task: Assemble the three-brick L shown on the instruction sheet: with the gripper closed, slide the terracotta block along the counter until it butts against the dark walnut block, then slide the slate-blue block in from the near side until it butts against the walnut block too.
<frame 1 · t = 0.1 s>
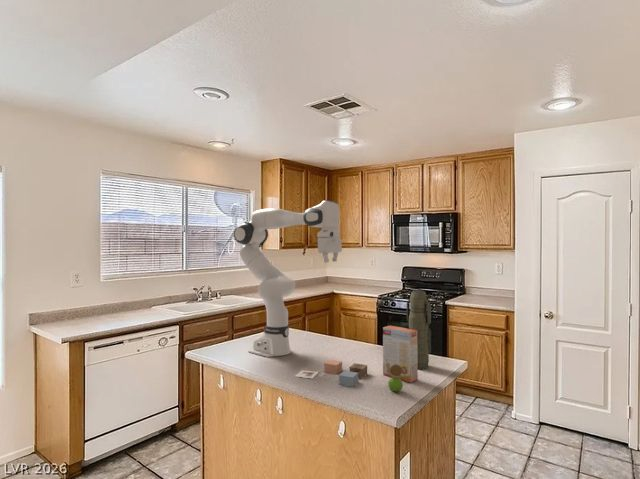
hand: (330, 261, 189), 48 cm above the countertop, tool pointing down, fingers open, 8 cm apart
slate block: (348, 383, 158), on the countertop
instruction sheet: (306, 374, 168), on the countertop
terracotta block: (333, 371, 173), on the countertop
cracker box: (400, 377, 165), on the countertop
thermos: (418, 366, 179), on the countertop
base block: (358, 375, 168), on the countertop
snail figurine: (394, 391, 150), on the countertop
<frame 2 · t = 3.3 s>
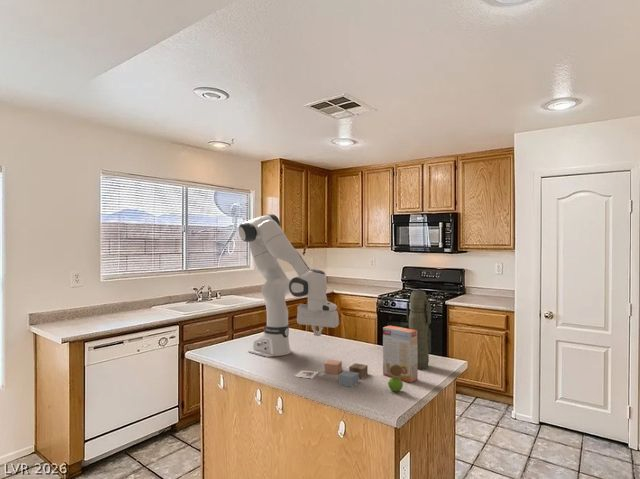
hand: (317, 335, 177), 15 cm above the countertop, tool pointing down, fingers closed
nothing on the countertop moved.
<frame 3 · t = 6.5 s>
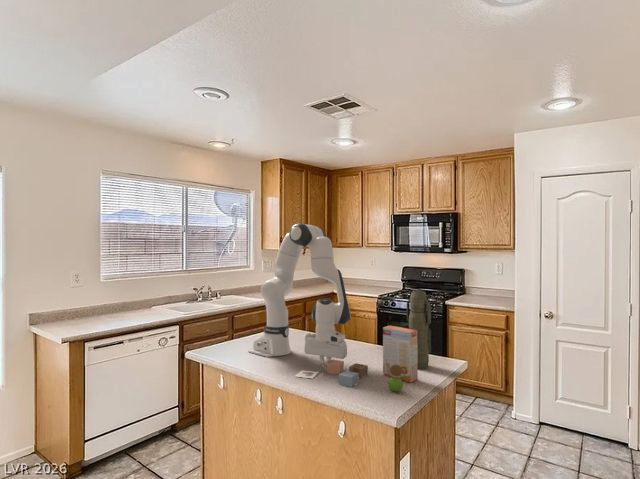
hand: (325, 365, 175), 2 cm above the countertop, tool pointing down, fingers closed
terracotta block: (335, 371, 173), on the countertop, touching gripper
everything else where it was.
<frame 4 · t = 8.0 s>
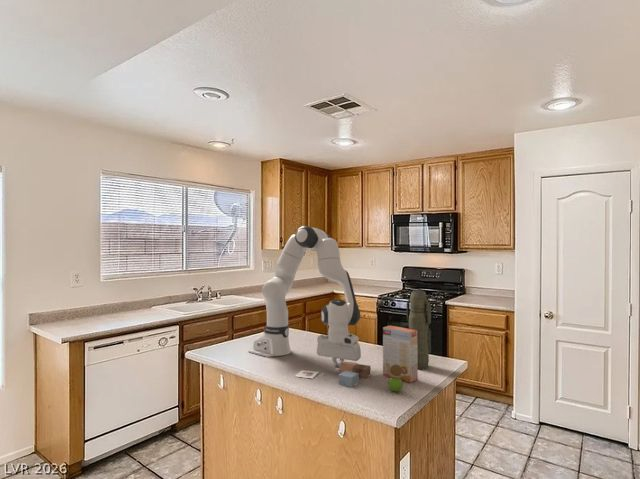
hand: (338, 367, 172), 2 cm above the countertop, tool pointing down, fingers closed
terracotta block: (348, 373, 171), on the countertop
base block: (361, 376, 167), on the countertop
everything else where it was.
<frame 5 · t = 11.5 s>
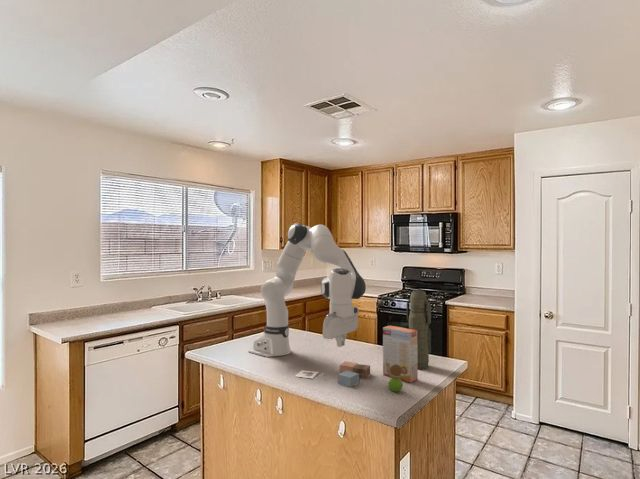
hand: (340, 346, 151), 17 cm above the countertop, tool pointing down, fingers closed
nothing on the countertop moved.
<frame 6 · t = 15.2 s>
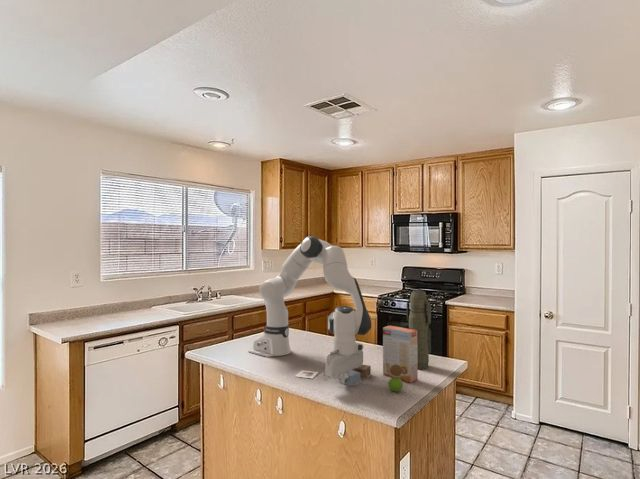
hand: (344, 382, 155), 2 cm above the countertop, tool pointing down, fingers closed
slate block: (350, 382, 159), on the countertop, touching gripper
everything else where it was.
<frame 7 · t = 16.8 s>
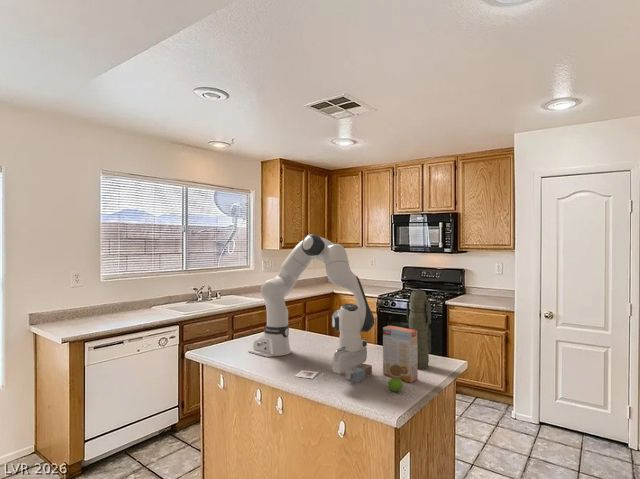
hand: (350, 378, 160), 2 cm above the countertop, tool pointing down, fingers closed
slate block: (355, 379, 163), on the countertop
base block: (362, 375, 168), on the countertop
everything else where it was.
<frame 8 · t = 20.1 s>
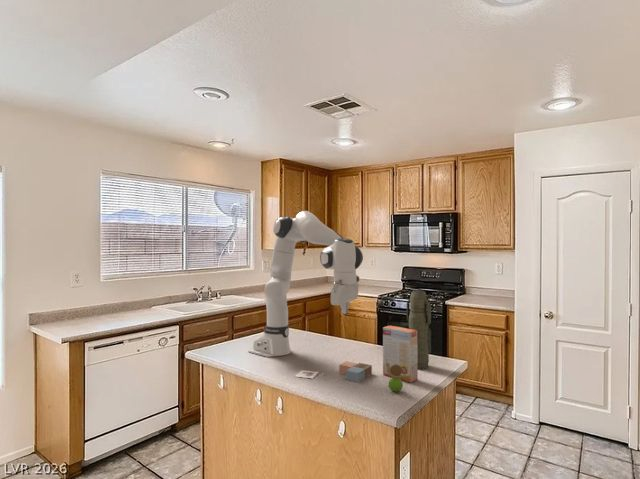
hand: (344, 313, 155), 29 cm above the countertop, tool pointing down, fingers closed
nothing on the countertop moved.
at the end: terracotta block 1.0 cm from the target spot on the countertop beside the base block, on the countertop; slate block 1.5 cm from the target spot on the countertop beside the base block, on the countertop; base block moved 1.8 cm from its start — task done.
